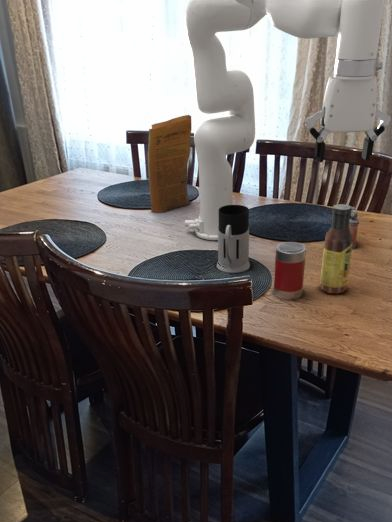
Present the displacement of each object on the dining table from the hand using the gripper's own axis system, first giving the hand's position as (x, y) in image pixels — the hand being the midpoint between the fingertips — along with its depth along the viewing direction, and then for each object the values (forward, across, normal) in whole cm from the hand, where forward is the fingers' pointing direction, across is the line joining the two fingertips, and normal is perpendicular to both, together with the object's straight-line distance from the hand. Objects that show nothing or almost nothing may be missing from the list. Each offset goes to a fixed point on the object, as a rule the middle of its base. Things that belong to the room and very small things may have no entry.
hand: (342, 159), depth 112 cm
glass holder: (+30, +22, -10) cm, 38 cm away
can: (+29, +10, +4) cm, 31 cm away
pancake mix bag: (+31, +37, -61) cm, 78 cm away
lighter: (+30, -12, -24) cm, 40 cm away
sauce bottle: (+29, -1, +3) cm, 30 cm away
